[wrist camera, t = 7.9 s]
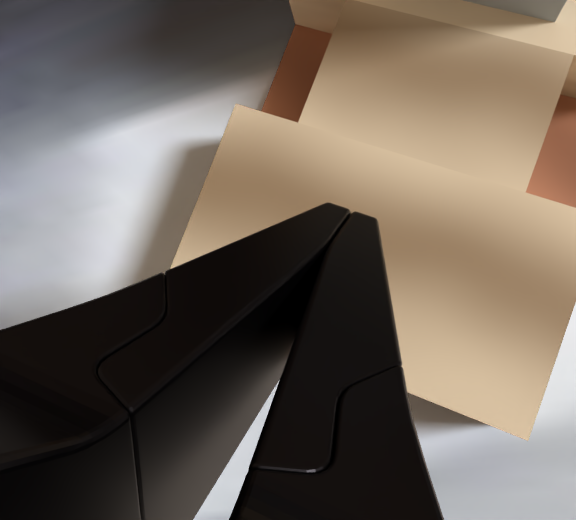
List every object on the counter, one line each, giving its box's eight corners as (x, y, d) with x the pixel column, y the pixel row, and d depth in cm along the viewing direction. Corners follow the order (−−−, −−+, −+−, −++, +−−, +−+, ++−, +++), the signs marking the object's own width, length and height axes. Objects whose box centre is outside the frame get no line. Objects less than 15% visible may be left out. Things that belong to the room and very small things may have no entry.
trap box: (505, 424, 16) (612, 502, 8) (190, 298, 18) (57, 273, 11) (678, -78, 17) (907, -397, 10) (362, -139, 19) (350, -435, 12)
